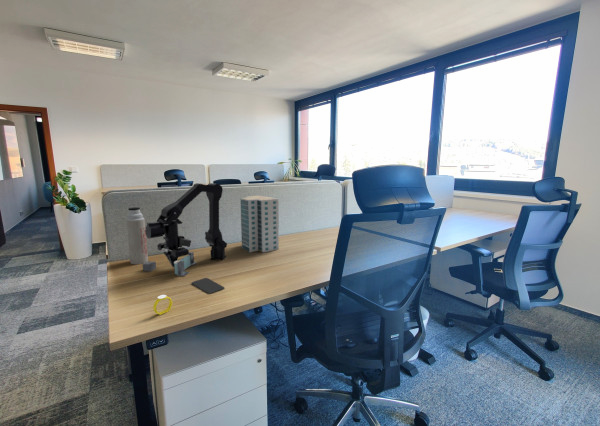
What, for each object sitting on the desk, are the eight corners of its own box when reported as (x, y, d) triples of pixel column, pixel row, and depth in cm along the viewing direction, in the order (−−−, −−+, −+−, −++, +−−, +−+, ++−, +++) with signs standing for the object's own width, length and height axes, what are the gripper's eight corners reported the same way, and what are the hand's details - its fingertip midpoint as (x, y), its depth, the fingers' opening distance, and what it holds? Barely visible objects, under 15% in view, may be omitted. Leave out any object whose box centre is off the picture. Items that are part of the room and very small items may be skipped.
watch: (157, 318, 94) (155, 302, 92) (153, 315, 95) (150, 299, 94) (174, 309, 99) (172, 293, 97) (169, 307, 100) (167, 291, 99)
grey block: (188, 272, 132) (188, 260, 131) (184, 276, 127) (183, 263, 126) (182, 272, 132) (181, 260, 131) (177, 276, 128) (176, 263, 127)
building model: (238, 245, 175) (236, 197, 170) (261, 241, 185) (260, 195, 179) (254, 254, 159) (252, 201, 154) (278, 249, 169) (278, 198, 163)
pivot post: (197, 262, 145) (197, 251, 144) (193, 265, 141) (193, 254, 140) (189, 262, 146) (188, 250, 144) (185, 265, 141) (184, 253, 140)
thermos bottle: (151, 259, 149) (147, 206, 144) (140, 264, 141) (135, 209, 137) (138, 258, 151) (133, 206, 146) (126, 263, 143) (120, 208, 138)
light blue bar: (190, 265, 141) (190, 253, 140) (178, 274, 129) (177, 262, 128) (187, 265, 141) (186, 253, 140) (174, 274, 129) (173, 262, 128)
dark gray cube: (156, 268, 137) (155, 261, 136) (151, 271, 133) (150, 264, 133) (148, 268, 137) (147, 261, 137) (143, 271, 134) (142, 264, 133)
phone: (209, 293, 110) (190, 282, 120) (209, 295, 110) (190, 284, 120) (225, 287, 115) (206, 277, 125) (225, 289, 115) (206, 279, 125)
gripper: (198, 234, 131) (200, 266, 134) (178, 228, 143) (180, 258, 145) (175, 239, 122) (177, 273, 125) (155, 232, 134) (158, 263, 137)
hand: (173, 266), depth 133 cm, fingers closed
